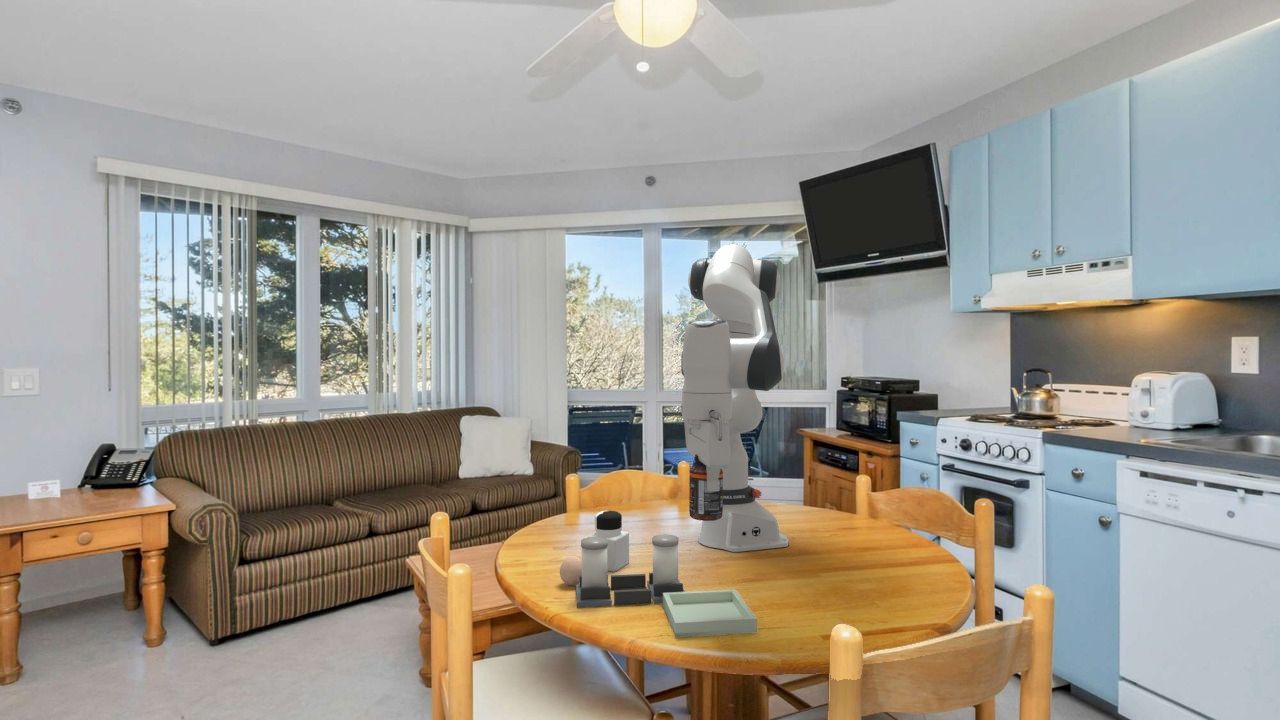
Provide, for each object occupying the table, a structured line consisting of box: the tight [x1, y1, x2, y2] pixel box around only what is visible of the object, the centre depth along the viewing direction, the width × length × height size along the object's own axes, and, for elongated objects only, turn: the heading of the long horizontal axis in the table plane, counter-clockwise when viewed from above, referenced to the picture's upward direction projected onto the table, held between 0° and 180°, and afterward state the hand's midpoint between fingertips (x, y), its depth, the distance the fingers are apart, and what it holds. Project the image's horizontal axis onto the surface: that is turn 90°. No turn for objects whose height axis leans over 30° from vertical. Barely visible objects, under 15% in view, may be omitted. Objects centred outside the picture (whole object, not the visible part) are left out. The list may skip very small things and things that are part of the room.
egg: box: [559, 555, 582, 586], centre depth 132 cm, size 5×5×6 cm
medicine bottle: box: [586, 510, 630, 573], centre depth 144 cm, size 7×7×12 cm
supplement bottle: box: [688, 454, 723, 521], centre depth 114 cm, size 6×6×11 cm
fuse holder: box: [575, 533, 686, 609], centre depth 126 cm, size 21×10×11 cm, turn 97°
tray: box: [662, 588, 758, 638], centre depth 114 cm, size 14×14×2 cm
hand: (706, 486), depth 114 cm, fingers closed on supplement bottle, 6 cm apart
